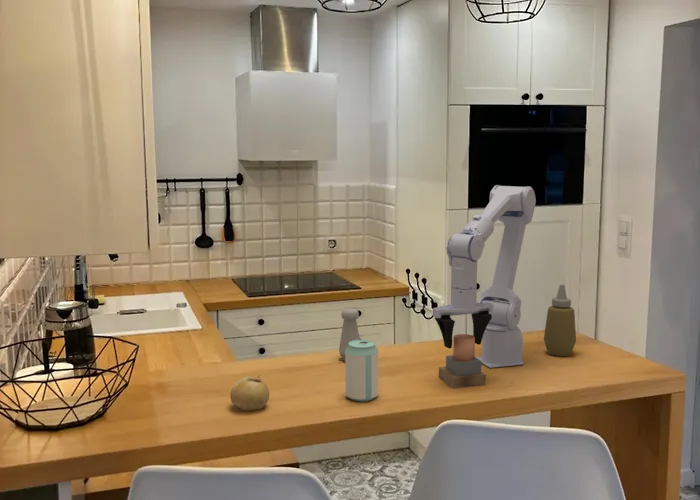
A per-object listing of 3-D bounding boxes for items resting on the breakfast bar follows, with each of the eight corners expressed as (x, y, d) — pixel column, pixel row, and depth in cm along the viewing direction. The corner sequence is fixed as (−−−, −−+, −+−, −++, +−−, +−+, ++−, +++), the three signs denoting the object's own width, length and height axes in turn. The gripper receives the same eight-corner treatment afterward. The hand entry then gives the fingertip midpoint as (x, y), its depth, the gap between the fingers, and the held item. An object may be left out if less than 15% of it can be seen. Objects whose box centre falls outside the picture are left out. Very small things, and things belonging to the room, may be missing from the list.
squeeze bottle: (579, 351, 186) (582, 284, 183) (570, 360, 179) (573, 289, 176) (548, 347, 190) (550, 280, 187) (539, 355, 183) (541, 286, 180)
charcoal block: (469, 366, 167) (469, 353, 167) (481, 373, 161) (481, 361, 161) (445, 368, 165) (446, 355, 165) (456, 376, 160) (456, 363, 159)
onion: (233, 416, 144) (232, 382, 143) (228, 402, 151) (227, 370, 150) (272, 412, 146) (272, 378, 145) (266, 398, 154) (265, 367, 152)
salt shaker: (362, 356, 183) (362, 306, 181) (361, 363, 177) (360, 312, 175) (340, 355, 183) (339, 306, 181) (337, 362, 178) (337, 311, 176)
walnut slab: (469, 376, 169) (470, 364, 168) (485, 387, 161) (485, 374, 161) (438, 379, 167) (438, 367, 166) (453, 391, 159) (453, 378, 159)
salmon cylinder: (466, 353, 166) (466, 333, 166) (478, 359, 162) (479, 338, 161) (449, 356, 164) (449, 335, 164) (461, 362, 160) (461, 340, 159)
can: (341, 393, 156) (340, 340, 154) (370, 389, 159) (370, 337, 157) (352, 404, 150) (352, 349, 148) (383, 400, 152) (383, 345, 150)
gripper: (482, 281, 167) (480, 337, 169) (426, 286, 162) (426, 344, 164) (498, 286, 160) (497, 345, 163) (442, 292, 155) (441, 352, 157)
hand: (462, 345), depth 163 cm, fingers open, 7 cm apart
